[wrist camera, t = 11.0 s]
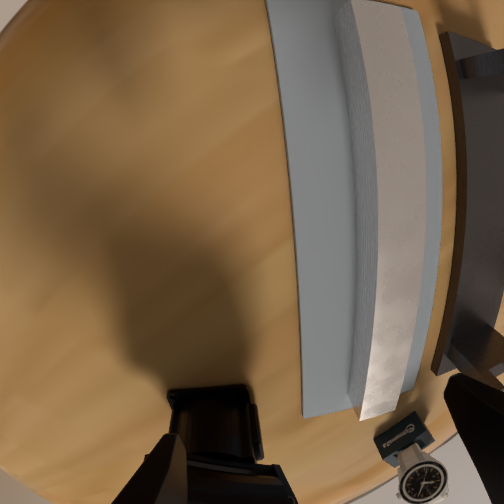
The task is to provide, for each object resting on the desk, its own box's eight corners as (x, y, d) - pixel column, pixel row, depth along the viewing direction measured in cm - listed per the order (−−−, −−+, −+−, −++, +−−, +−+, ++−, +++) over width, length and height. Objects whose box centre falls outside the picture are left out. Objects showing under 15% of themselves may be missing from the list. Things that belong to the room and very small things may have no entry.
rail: (347, 394, 23) (359, 421, 20) (331, 18, 14) (350, -3, 11) (380, 385, 23) (395, 410, 20) (376, 24, 14) (400, 7, 11)
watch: (409, 404, 25) (456, 480, 15) (427, 427, 27) (465, 490, 17) (365, 434, 26) (400, 515, 16) (390, 453, 28) (420, 518, 18)
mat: (302, 414, 24) (303, 418, 23) (264, -4, 13) (265, -8, 13) (411, 386, 24) (413, 389, 24) (414, 13, 14) (417, 10, 13)
